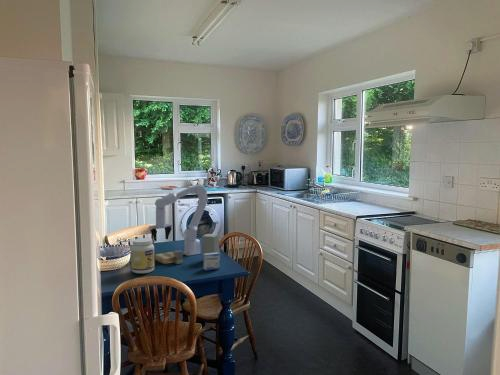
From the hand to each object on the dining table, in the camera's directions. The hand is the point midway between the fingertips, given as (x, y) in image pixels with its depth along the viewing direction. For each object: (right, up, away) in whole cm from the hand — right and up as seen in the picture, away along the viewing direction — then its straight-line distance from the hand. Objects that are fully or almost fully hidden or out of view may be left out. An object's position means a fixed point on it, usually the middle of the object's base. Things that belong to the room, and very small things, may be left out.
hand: (161, 240), depth 233 cm
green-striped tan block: (+6, -11, -7) cm, 14 cm away
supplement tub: (-3, -13, -27) cm, 30 cm away
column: (+13, -12, -13) cm, 22 cm away
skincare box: (+32, -12, -8) cm, 35 cm away
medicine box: (+33, -13, -24) cm, 43 cm away
